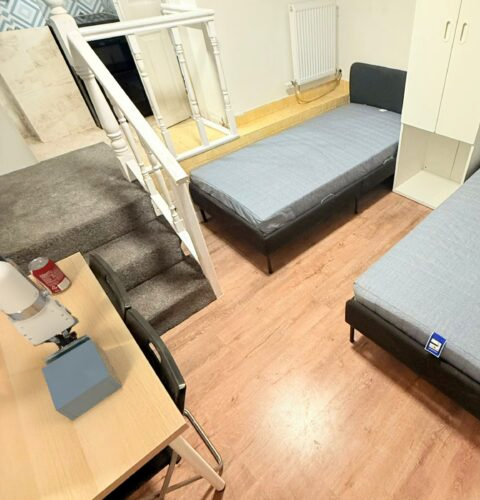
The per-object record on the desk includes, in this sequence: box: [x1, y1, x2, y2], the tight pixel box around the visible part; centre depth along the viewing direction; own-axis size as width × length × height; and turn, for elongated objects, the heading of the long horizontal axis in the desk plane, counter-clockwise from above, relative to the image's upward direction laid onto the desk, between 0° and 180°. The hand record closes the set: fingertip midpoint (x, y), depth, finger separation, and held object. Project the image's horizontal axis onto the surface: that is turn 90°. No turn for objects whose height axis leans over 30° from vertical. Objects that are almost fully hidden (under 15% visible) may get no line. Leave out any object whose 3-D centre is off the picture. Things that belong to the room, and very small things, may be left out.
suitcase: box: [41, 338, 123, 422], centre depth 84 cm, size 14×12×9 cm
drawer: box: [42, 330, 101, 365], centre depth 88 cm, size 19×11×7 cm, turn 43°
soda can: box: [27, 256, 71, 295], centre depth 108 cm, size 7×7×12 cm
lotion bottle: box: [0, 253, 43, 291], centre depth 103 cm, size 6×6×20 cm
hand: (70, 344), depth 92 cm, fingers closed
